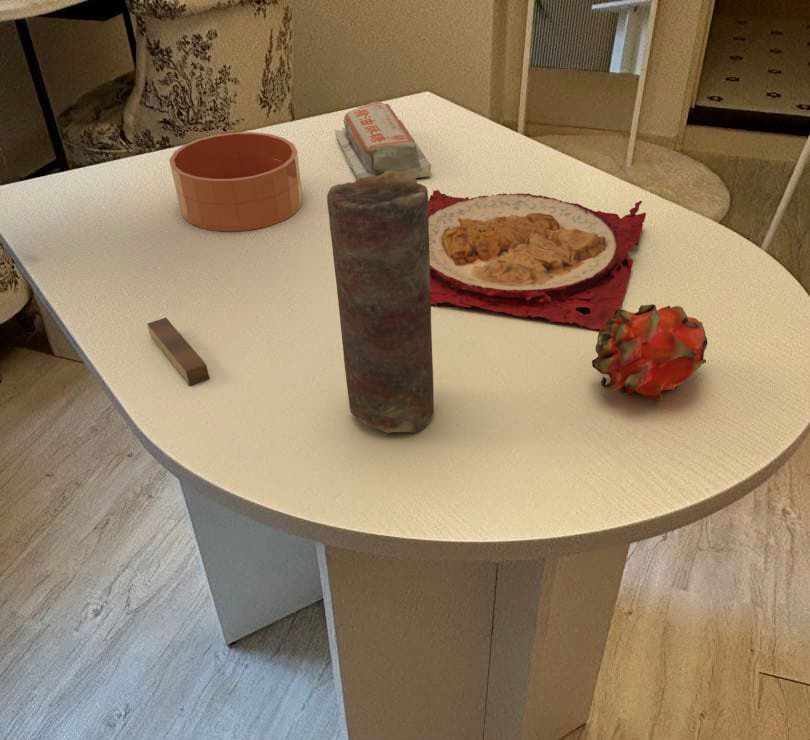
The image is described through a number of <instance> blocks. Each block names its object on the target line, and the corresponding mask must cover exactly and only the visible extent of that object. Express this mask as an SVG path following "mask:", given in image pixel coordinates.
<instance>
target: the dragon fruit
mask: <svg viewBox="0 0 810 740" xmlns="http://www.w3.org/2000/svg"><path fill="white" fill-rule="evenodd" d="M707 347H708V337H707V335H706V330H705V328H704V325H703V322H702V321H699V320H698V319H697V318H696V317H691V316H688V315H687V314H686V311H685V310H684V308H683V307H681V306H680V305H673V306H672V307H671V305H666V306H664V307H660V308H659V309H657V305H656V304H653V303H651V304H641V305H640V306H639V307H638V311H637V312H631V311H628V310H625V309H622V308H621V309H616V310H615V311H614V314H613V319H612V320H608V321H607V322H606V324H605V328H603V329H602V330H600V329H599V331H598V334H597V341H596V343H595V349H594V350H595V353H596V354H597V356H596V357H595V358H594V359H592V361H591V367H592V368H593V369H595V370H596V371H597V372H599V373H600V374H601V375H608V376H609V381H608V383H607V380H608V377H606V376H602V378H601V380H600V385H601V387H603V388H604V389H605V390H607V391H614V390H617V391H619V393H620V394H623V395H631V394H632V393H633V392H636V393H638V394H641V395H642V396H643V397H644V398H645V399H647V400H648V399H649V400H655V401H653V403H654V404H657V403H661V402H662V401H664V396H665V393H664V392H663V391H667V390H673V391H675V390H677V389H678V388H679V386H680V385H682V384H684V383H685V382H687V380H689V379H691V377H692V376H693V375H694V374H695V373H696V371H697V370H698V369H700V368H701V366H702V365H704V364H706V363H707V359H705V358H704V357H705V351H706V349H707Z"/></svg>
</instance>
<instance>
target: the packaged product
mask: <svg viewBox="0 0 810 740" xmlns="http://www.w3.org/2000/svg"><path fill="white" fill-rule="evenodd" d="M343 124H344V125H343V126H344V127H342V129H341V130H339V129H334V134H335V138H336V140H337V141H338V143H339V145H340V147H341V149H342V151H343V153H344V156H345V158H346V161H347V164H348V167H349V168H351V169H352V172H353V173H354V175H355V177H356V180H358V179H361V178H367V177H372V176H380V175H382V174H383V173H385V172H386V171H390V170H393V171H397V172H403V173H407V174H409V175H411V176H415V177H416V179H418V178H427V177H428V178H429V177H431V172H432V171H431V169H432V164H430V161H429V160H428V159H427V157H426V156H425V154H424V153H423V152H422V149H421V148H420V146H419V145H418V143H416V141H415V139H414V138H413V136H412V135H411V134H410V132H409V130H408V128H407V127H406V125H405V124H404V123H403V121H402V120H401V119H399V117H398V116H397V115H396V113H395V112H394V110H393V109H392V107H391V106H390V104H389V103H384V102H380V101H372V102H369V103H368V104H364V105H363V106H359V107H357V108H355V109H352V110H350V111H348V112H347V113H345V115H344V117H343Z"/></svg>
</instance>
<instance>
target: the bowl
mask: <svg viewBox="0 0 810 740" xmlns="http://www.w3.org/2000/svg"><path fill="white" fill-rule="evenodd" d="M299 163H300V162H299V153H298V149H297V148H296V146H295V144H294V143H293V142H291V141H290V140H288V139H286V138H285V137H282V136H279V135H275V134H272V133H271V134H270V133H266V132H265V133H263V132H256V131H255V132H254V131H243V132H242V131H234V132H228V133H227V132H226V133H219V134H214V135H210V136H205V137H202V138H197V139H194V140H193V141H190V142H188V143H186V144H183V145H182V146H180V147H179V148H178V149H175V151H174V152H173V153H172V155H171V156H170V158H169V165H170V170H171V174H172V178H173V183H174V187H175V192H176V196H177V201H178V205H179V209H180V213H181V216H182V217H183V218H184V220H185V221H186V222H187V223H189V224H191V225H193V226H195V227H198V228H201V229H205V230H209V231H217V232H244V231H245V232H246V231H253V230H258V229H262V228H267V227H271V226H274V225H277V224H279V223H281V222H283V221H285V220H287V219H289V218H291V217H292V216H293V215H295V214H296V213H297V212H298V211H299V210H300V208H301V206H302V203H303V191H302V190H303V189H302V180H301V172H300V171H301V170H300V164H299Z"/></svg>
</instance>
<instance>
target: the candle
mask: <svg viewBox="0 0 810 740" xmlns="http://www.w3.org/2000/svg"><path fill="white" fill-rule="evenodd" d="M428 200H429V192H428V188H427V186H426V185H424V184H422V183H419V182H418V181H417V178H416V177H415V176H411V175H409V174H407V173H403V172H397V171H393V170H390V171H386V172H385V173H383V174H382V175H380V176H372V177H367V178H361V179H356V180H355V181H353V182H346V183H338V184H335V185H333V186H331V187H330V188H329V190H328V191H327V195H326V203H327V204H326V205H327V211H328V221H329V231H330V239H331V248H332V256H333V257H332V258H333V267H334V276H335V283H336V294H337V303H338V311H339V323H340V333H341V342H342V352H343V363H344V371H345V380H346V381H345V383H346V390H347V397H348V405H349V410H350V413H351V414H352V415H353V417H355V418H356V419H357V420H359V421H360V422H362V423H363V425H365V426H367V427H370V428H374V429H377V430H380V431H382V432H384V433H386V434H387V433H412V434H415V433H418V432H420V431H422V430H423V429H424V428H426V427H427V426H428V425H429V423H430V421H431V419H432V417H433V415H434V412H435V405H434V399H435V398H434V397H435V396H434V368H433V367H434V363H433V337H432V304H431V299H430V253H429V217H428Z"/></svg>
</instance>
